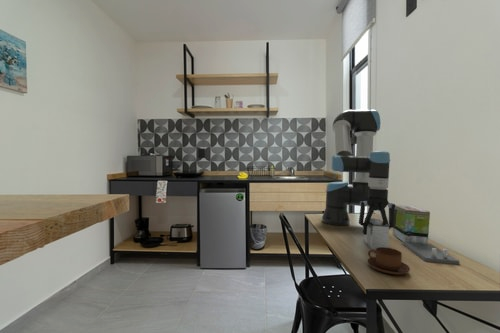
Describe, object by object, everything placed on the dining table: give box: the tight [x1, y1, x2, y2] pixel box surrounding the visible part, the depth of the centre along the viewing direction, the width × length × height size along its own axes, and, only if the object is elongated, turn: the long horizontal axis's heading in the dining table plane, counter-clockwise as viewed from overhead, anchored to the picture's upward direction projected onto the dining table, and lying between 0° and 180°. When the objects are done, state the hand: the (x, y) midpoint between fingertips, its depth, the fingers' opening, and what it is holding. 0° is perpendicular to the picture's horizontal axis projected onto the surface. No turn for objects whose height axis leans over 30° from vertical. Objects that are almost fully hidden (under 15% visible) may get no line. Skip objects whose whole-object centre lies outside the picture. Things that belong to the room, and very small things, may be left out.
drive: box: [363, 217, 390, 251], centre depth 108 cm, size 12×6×10 cm, turn 171°
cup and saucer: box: [367, 247, 411, 276], centre depth 83 cm, size 12×12×6 cm
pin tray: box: [402, 236, 460, 265], centre depth 100 cm, size 19×11×4 cm, turn 171°
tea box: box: [392, 204, 431, 244], centre depth 119 cm, size 15×10×15 cm
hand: (375, 242), depth 108 cm, fingers closed on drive, 6 cm apart
